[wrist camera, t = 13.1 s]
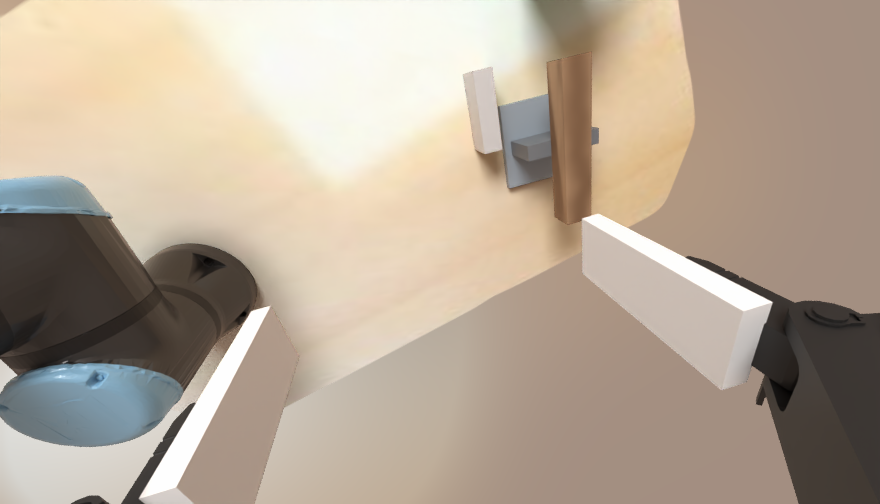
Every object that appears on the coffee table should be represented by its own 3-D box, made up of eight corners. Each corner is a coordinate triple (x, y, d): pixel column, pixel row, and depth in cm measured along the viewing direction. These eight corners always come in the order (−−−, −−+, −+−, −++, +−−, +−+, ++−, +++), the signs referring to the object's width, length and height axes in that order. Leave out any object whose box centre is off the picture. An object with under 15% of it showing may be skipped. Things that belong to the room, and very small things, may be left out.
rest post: (474, 149, 48) (484, 154, 43) (462, 74, 43) (472, 71, 39) (490, 145, 48) (502, 149, 43) (480, 70, 43) (492, 66, 39)
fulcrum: (507, 186, 51) (525, 198, 45) (497, 106, 46) (516, 107, 39) (577, 168, 52) (604, 177, 46) (575, 86, 46) (606, 84, 40)
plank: (554, 216, 47) (567, 224, 44) (546, 62, 38) (561, 58, 35) (576, 210, 47) (591, 218, 44) (574, 55, 38) (591, 51, 35)
